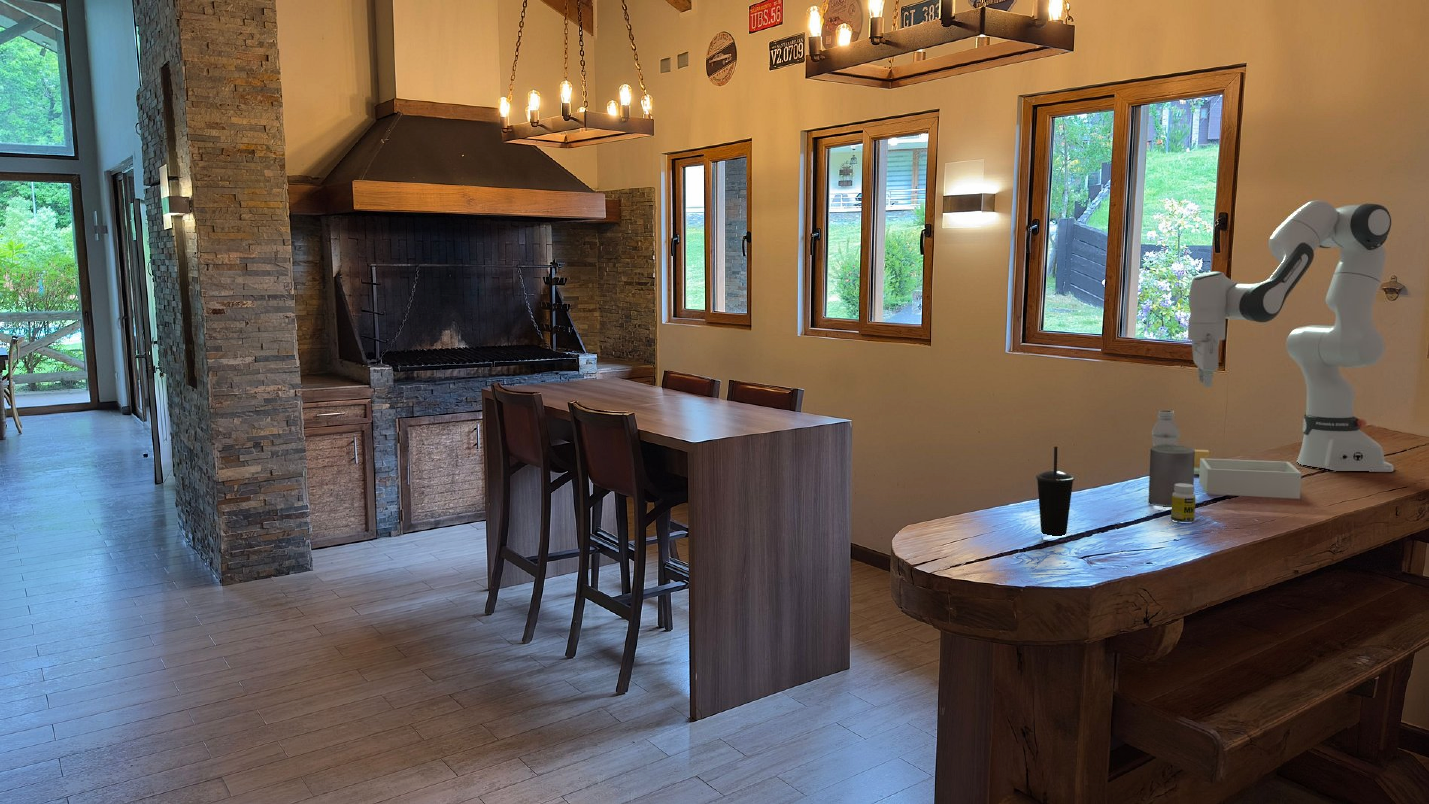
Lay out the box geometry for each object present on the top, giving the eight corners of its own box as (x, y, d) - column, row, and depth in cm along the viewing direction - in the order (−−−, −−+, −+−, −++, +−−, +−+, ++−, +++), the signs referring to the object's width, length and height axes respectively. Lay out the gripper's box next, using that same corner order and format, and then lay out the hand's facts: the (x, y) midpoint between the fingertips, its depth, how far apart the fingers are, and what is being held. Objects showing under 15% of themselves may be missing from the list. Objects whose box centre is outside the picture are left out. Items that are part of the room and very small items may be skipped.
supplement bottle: (1185, 525, 210) (1186, 488, 209) (1166, 520, 214) (1167, 484, 213) (1199, 522, 212) (1200, 485, 211) (1180, 517, 216) (1181, 481, 215)
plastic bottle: (1171, 485, 248) (1174, 409, 245) (1181, 491, 241) (1184, 413, 238) (1145, 485, 248) (1148, 409, 246) (1154, 491, 242) (1157, 413, 239)
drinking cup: (1068, 546, 197) (1070, 451, 194) (1030, 541, 201) (1032, 448, 198) (1076, 537, 203) (1078, 445, 200) (1039, 532, 207) (1041, 442, 204)
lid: (1270, 471, 260) (1272, 448, 259) (1282, 483, 246) (1284, 458, 246) (1185, 468, 268) (1186, 445, 267) (1192, 479, 254) (1193, 455, 253)
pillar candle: (1152, 497, 235) (1154, 438, 233) (1196, 502, 229) (1198, 441, 227) (1144, 506, 227) (1146, 445, 225) (1189, 511, 221) (1191, 448, 219)
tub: (1287, 488, 240) (1288, 461, 240) (1299, 501, 227) (1301, 473, 226) (1199, 484, 247) (1200, 458, 246) (1206, 497, 234) (1207, 469, 233)
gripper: (1225, 336, 244) (1223, 389, 246) (1214, 330, 263) (1212, 379, 265) (1198, 336, 246) (1196, 389, 248) (1188, 330, 265) (1187, 379, 267)
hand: (1204, 384), depth 256 cm, fingers open, 8 cm apart
